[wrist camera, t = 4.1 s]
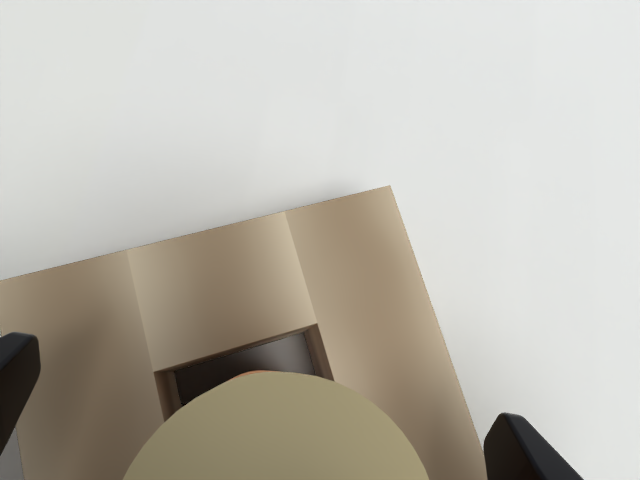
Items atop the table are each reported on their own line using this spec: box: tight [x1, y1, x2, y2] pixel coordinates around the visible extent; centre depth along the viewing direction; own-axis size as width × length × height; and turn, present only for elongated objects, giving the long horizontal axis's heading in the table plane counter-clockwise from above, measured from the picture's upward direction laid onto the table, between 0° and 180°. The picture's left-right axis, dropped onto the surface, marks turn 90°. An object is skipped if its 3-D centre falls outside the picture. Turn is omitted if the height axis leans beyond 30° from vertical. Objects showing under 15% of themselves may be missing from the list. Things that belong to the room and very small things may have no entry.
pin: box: [123, 370, 429, 480], centre depth 10 cm, size 3×3×12 cm
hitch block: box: [0, 185, 487, 480], centre depth 14 cm, size 11×11×4 cm
